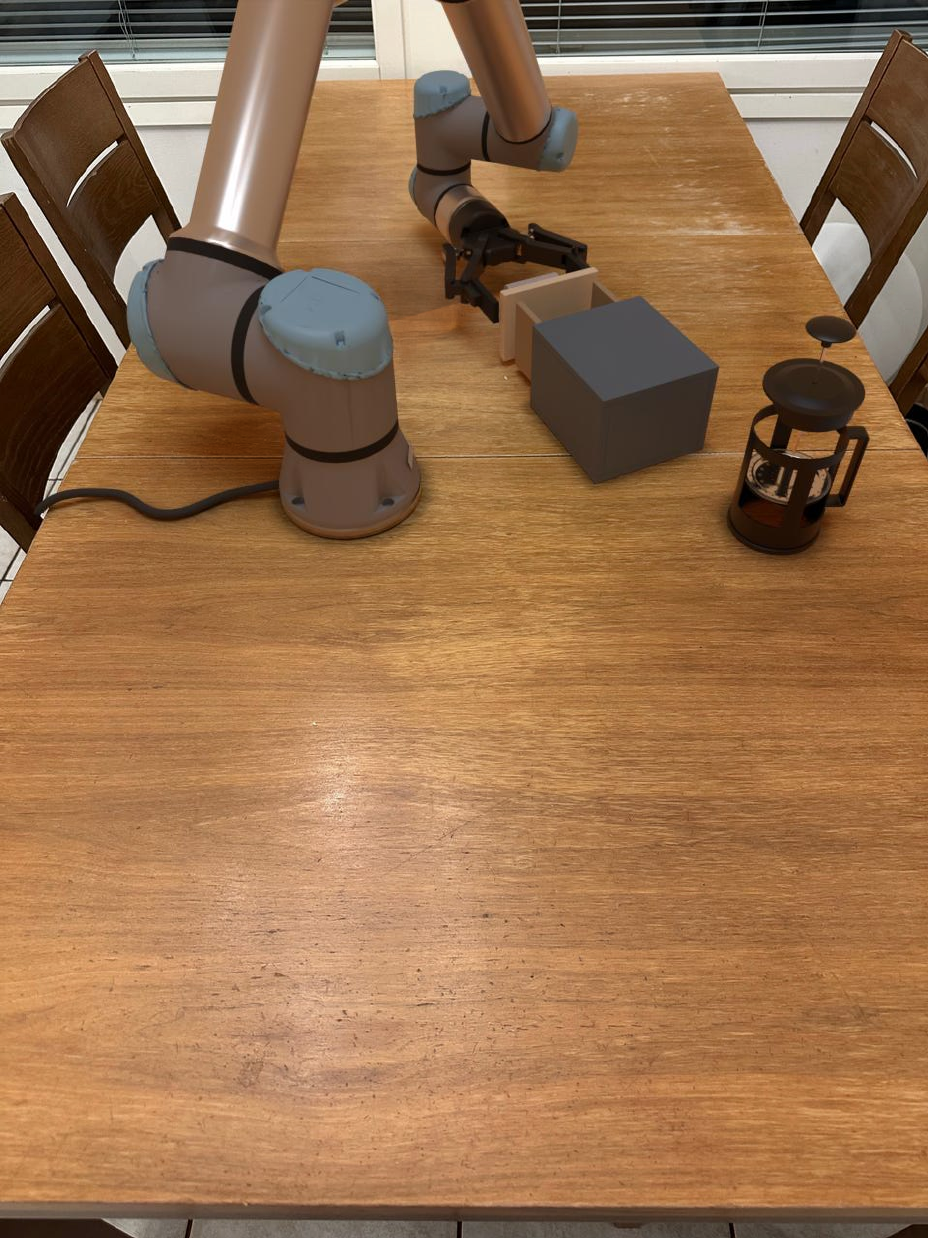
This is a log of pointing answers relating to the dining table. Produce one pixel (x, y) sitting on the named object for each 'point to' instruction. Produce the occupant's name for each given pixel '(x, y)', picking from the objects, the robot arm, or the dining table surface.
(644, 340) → the cabinet
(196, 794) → the dining table surface
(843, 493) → the french press
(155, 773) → the dining table surface
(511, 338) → the drawer
